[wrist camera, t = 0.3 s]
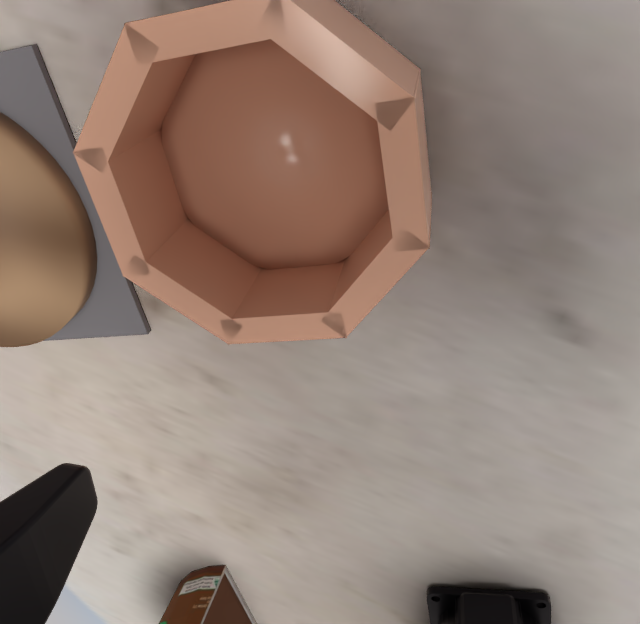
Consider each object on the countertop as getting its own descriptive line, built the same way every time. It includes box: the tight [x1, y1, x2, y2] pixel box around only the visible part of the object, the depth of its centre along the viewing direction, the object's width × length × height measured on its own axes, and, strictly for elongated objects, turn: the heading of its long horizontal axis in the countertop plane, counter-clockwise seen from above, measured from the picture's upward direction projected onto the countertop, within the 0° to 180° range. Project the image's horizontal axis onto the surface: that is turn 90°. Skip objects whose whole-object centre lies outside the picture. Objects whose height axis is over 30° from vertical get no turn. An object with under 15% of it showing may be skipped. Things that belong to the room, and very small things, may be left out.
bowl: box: [73, 0, 432, 344], centre depth 18 cm, size 10×10×4 cm
